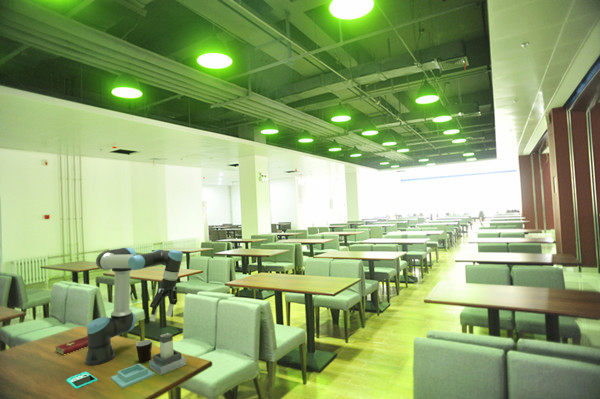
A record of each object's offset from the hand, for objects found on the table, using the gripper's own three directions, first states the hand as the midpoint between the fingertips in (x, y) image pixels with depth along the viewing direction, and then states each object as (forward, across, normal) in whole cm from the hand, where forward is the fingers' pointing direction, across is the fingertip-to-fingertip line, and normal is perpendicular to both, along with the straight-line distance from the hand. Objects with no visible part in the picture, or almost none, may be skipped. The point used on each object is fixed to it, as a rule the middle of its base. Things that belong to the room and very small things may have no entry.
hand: (160, 318), depth 184 cm
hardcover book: (+43, +26, +74) cm, 89 cm away
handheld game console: (+39, -10, +31) cm, 50 cm away
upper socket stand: (+26, +9, -5) cm, 28 cm away
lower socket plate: (+31, -4, +6) cm, 32 cm away
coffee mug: (+30, +16, +14) cm, 36 cm away
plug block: (+23, +8, -4) cm, 24 cm away
